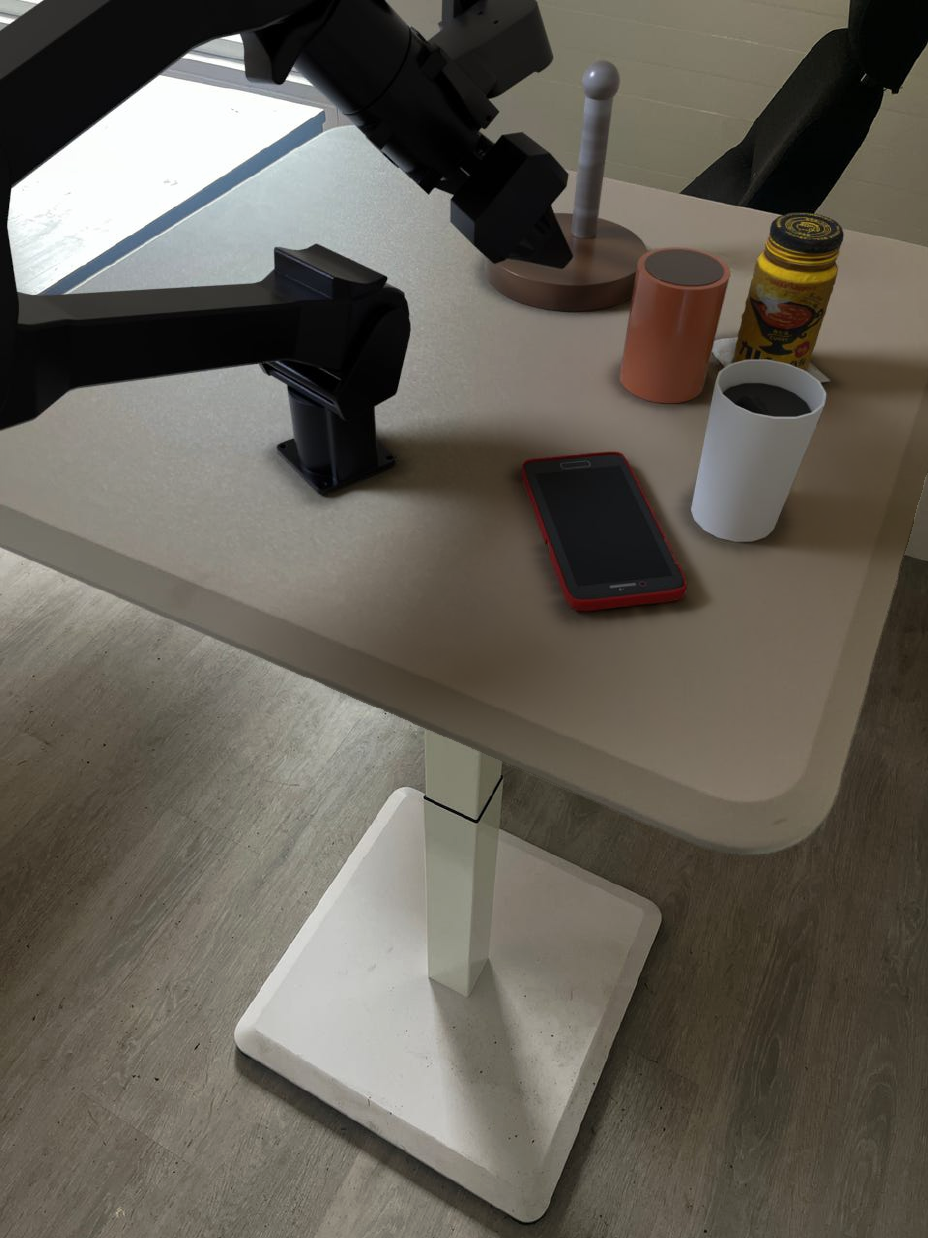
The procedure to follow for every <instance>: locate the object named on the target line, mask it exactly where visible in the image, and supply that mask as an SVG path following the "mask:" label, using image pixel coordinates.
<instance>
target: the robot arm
mask: <svg viewBox="0 0 928 1238" xmlns="http://www.w3.org/2000/svg"><path fill="white" fill-rule="evenodd" d="M544 23H545V22H544V20H543V17H542V12H541V10H540V6H539V2H538V1H537V0H441V20H440V21H439V22H438V23H437V26H438V28H439V31H438V32H437V33H436V34H434V35H433V36H431V37H430V38H429V39H428V40H427V39H426V38H425V36H423V35H422V33H421V32H420V31H418V30H417V28H415V27H413V26H409V25H408V24H407V22H406V21H405V20H404V19H403V18H402V17H401V16H400V14H399V13H398V12H397V11H396V10H395V9H394V8H393V7H392V6H391V4H389V3H388V1H386V0H41V1H40V2H39V3H37V4H36V5H34V6H33V7H31V8H30V9H29V10H27V11H25V12H24V13H23V14H21V15H20V16H19V17H17V18H16V19H14V20H13V21H12V22H10V23H8V24H7V25H6V26H4V27H3V28H2V29H0V432H2V431H5V430H8V429H11V428H14V427H17V426H21V425H24V424H26V423H29V422H32V421H34V420H36V419H37V418H38V417H40V416H41V415H42V414H43V413H44V412H46V411H47V410H48V409H49V408H50V407H51V406H53V405H54V404H55V403H56V402H57V401H58V400H60V399H61V398H63V397H64V396H65V395H66V394H67V393H70V392H72V391H75V390H78V389H79V390H80V389H83V388H84V389H85V388H93V387H99V386H106V385H113V384H121V383H128V382H137V381H143V380H150V379H159V378H164V377H174V376H178V375H179V376H180V375H187V374H195V373H202V372H209V371H216V370H224V369H231V368H239V367H246V366H253V365H254V366H255V365H258V366H259V368H260V369H261V371H262V373H263V374H265V375H266V376H269V377H273V378H274V379H276V380H278V381H280V382H281V383H283V384H284V385H286V389H287V396H288V403H289V411H290V412H289V413H290V418H291V426H292V433H293V438H290V439H288V440H284V441H283V442H280V443H278V444H277V445H276V451H277V454H278V455H279V456H280V457H281V458H282V459H283V460H284V461H285V462H286V463H287V464H288V465H289V466H290V468H292V469H293V470H294V471H295V472H296V473H297V475H299V477H301V479H303V480H304V481H305V482H306V483H307V484H308V485H309V486H310V487H311V489H312V490H314V491H315V492H316V493H317V494H318V495H327V494H329V493H332V492H334V491H336V490H339V489H341V488H344V487H346V486H349V485H351V484H353V483H356V482H358V481H361V480H362V479H365V478H367V477H370V476H372V475H375V474H378V473H380V472H382V471H384V470H387V469H389V468H392V467H394V466H395V465H396V464H397V456H396V455H395V454H394V452H392V451H391V450H390V449H388V447H386V446H385V445H384V444H383V443H382V442H380V440H378V438H377V421H376V406H379V405H381V404H382V403H384V402H387V400H390V399H391V398H393V397H395V396H396V395H397V393H398V390H399V386H400V380H401V377H402V372H403V368H404V364H405V359H406V355H407V351H408V346H409V342H410V337H411V331H412V326H411V319H410V308H409V302H408V300H407V298H406V293H405V292H404V291H403V290H401V289H400V288H398V287H396V286H394V285H392V284H390V283H388V282H387V281H388V279H389V278H388V276H387V275H385V274H383V273H381V272H379V271H377V270H375V269H372V268H370V267H368V266H366V265H364V264H362V263H360V262H358V261H355V260H353V259H351V258H349V257H347V256H345V255H342V254H341V253H338V252H336V251H334V250H332V249H330V248H328V247H326V246H324V245H321V244H319V243H314V244H311V245H310V246H308V247H306V248H302V249H292V248H288V247H282V246H275V247H273V266H274V268H273V269H272V270H271V271H269V273H268V274H267V275H266V276H265V277H263V279H261V280H259V281H256V282H251V283H250V282H249V283H235V284H233V283H232V284H215V285H199V286H198V285H197V286H182V287H164V288H163V287H162V288H147V289H131V290H130V289H129V290H114V291H113V290H112V291H98V292H97V291H96V292H79V293H66V294H65V293H63V294H61V293H60V294H46V295H45V294H44V295H38V294H30V293H26V292H21V291H18V288H17V281H16V276H15V275H16V274H15V268H14V261H13V255H12V248H11V241H10V234H9V228H8V227H9V225H8V222H9V215H10V214H9V213H10V206H11V205H10V203H11V197H12V195H11V194H12V189H13V188H14V187H16V186H17V185H19V184H20V183H21V182H23V180H25V179H26V178H28V177H29V176H31V174H33V173H34V172H36V170H38V169H40V168H41V167H42V166H43V165H44V164H46V163H47V162H48V161H49V160H51V159H52V158H53V157H55V156H56V155H57V154H58V153H60V152H61V151H63V150H64V149H65V148H67V147H68V146H69V145H70V144H72V143H73V142H74V141H76V140H77V139H78V138H80V137H81V136H82V135H83V134H85V133H86V132H87V131H89V130H90V129H91V128H93V127H94V126H95V125H96V124H98V123H99V122H100V121H102V120H103V119H104V118H106V117H107V116H108V115H109V114H111V113H112V112H113V111H116V109H118V108H119V107H120V106H121V105H123V104H124V103H125V102H127V101H128V100H129V99H130V98H132V97H133V96H134V95H136V94H137V93H138V92H140V91H141V90H142V89H143V88H144V87H146V86H147V85H149V84H151V82H152V81H154V80H155V79H156V78H158V77H159V76H161V75H162V74H164V72H166V71H167V70H168V69H170V68H171V67H172V66H173V65H174V64H176V63H178V62H179V61H180V60H181V59H183V58H184V57H185V56H187V55H188V54H189V53H190V52H192V51H193V50H195V49H197V48H199V47H202V46H203V45H205V44H208V43H210V42H212V41H214V40H218V39H223V38H226V37H227V38H228V37H231V36H236V35H239V36H240V39H241V42H242V45H243V64H244V75H245V76H244V77H245V79H246V80H247V81H248V82H249V83H252V84H261V85H271V86H282V85H284V83H285V82H286V81H287V79H288V77H289V75H290V73H291V71H292V70H293V68H294V69H295V71H297V72H298V73H299V74H300V75H301V76H302V77H303V78H304V79H306V81H307V82H309V83H310V84H311V86H313V87H314V88H315V89H316V90H317V91H318V92H319V93H320V94H321V95H323V97H324V98H325V99H327V100H328V101H329V102H330V103H331V104H332V105H333V106H334V107H335V108H336V109H337V110H338V111H340V113H341V114H343V116H344V117H346V119H347V120H349V121H350V122H351V123H352V124H353V125H354V126H355V127H356V128H357V129H358V130H359V131H360V132H361V133H362V134H363V135H364V136H365V139H367V141H369V143H371V145H373V146H374V148H375V149H377V150H378V152H379V153H381V155H383V156H384V157H385V158H386V159H387V160H388V161H389V162H390V163H391V164H392V165H394V166H395V167H396V168H397V169H400V170H401V171H402V172H403V173H404V174H405V175H406V176H407V177H408V178H409V179H411V180H412V181H413V182H414V183H415V184H416V185H417V186H419V188H421V189H422V191H424V192H425V193H426V194H427V195H429V196H430V194H431V193H432V192H433V191H434V189H436V190H439V191H442V192H444V193H447V194H449V195H452V197H451V198H450V200H449V202H450V203H449V204H450V205H449V206H450V209H449V223H450V224H452V225H453V227H455V229H457V230H458V232H460V234H462V235H463V237H465V239H466V240H467V241H468V242H470V244H471V245H473V247H474V248H476V249H477V250H478V251H479V252H480V253H481V254H482V255H483V256H484V257H485V256H486V257H487V258H488V259H489V260H490V261H491V262H492V263H493V264H496V263H499V262H502V261H505V260H506V259H510V260H518V261H523V262H529V263H534V264H539V265H544V266H548V267H553V268H558V269H563V268H565V267H566V266H567V264H568V263H569V262H570V261H571V260H572V258H573V253H572V251H571V249H570V247H569V245H568V243H567V240H566V238H565V236H564V234H563V232H562V230H561V227H560V225H559V223H558V221H557V219H556V216H555V214H554V213H555V211H554V209H553V204H554V202H555V201H556V200H557V199H558V198H559V197H560V195H561V194H562V193H563V192H564V190H566V188H567V186H568V181H569V176H570V174H569V173H568V172H567V170H566V169H565V168H564V166H563V165H561V164H560V163H559V161H558V160H557V159H556V158H555V157H554V156H553V155H552V153H551V152H549V151H548V150H547V149H546V148H544V147H543V146H541V145H540V144H539V143H538V142H537V141H536V140H533V138H531V136H528V135H527V134H526V133H525V132H524V131H521V132H520V131H519V132H513V133H512V132H511V133H505V134H501V135H500V136H499V137H498V139H497V140H496V141H495V142H494V141H492V140H491V139H490V138H489V137H487V136H486V135H485V134H483V133H482V132H481V129H483V130H486V129H488V127H489V126H490V125H491V124H492V122H493V121H494V120H495V118H496V117H497V116H498V115H499V114H500V110H499V109H498V108H497V107H496V106H495V105H494V103H493V102H492V101H491V99H494V98H497V97H499V96H501V95H503V94H504V93H506V92H508V91H509V90H510V89H512V88H513V87H515V86H516V85H518V84H519V83H520V82H522V81H524V80H525V79H527V78H528V77H529V76H531V75H532V74H533V73H538V74H539V73H542V72H543V71H544V70H546V69H547V68H548V67H549V66H550V65H551V64H552V62H553V61H554V53H553V50H552V46H551V43H550V40H549V36H548V34H547V29H546V26H545V24H544Z"/></svg>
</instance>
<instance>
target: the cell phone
mask: <svg viewBox="0 0 928 1238" xmlns="http://www.w3.org/2000/svg"><path fill="white" fill-rule="evenodd" d="M520 475H521V480H522V483H523V485H524V489H525V492H526V495H527V498H528V500H529V502H530V505H531V507H532V510H533V513H534V517H535V519H536V522H537V525H538V528H539V530H540V533H541V536H542V539H543V541H544V544H545V545H546V546H547V547H548V550H549V552H548V555H549V559H550V561H551V564H552V566H553V570H554V572H555V575H556V578H557V580H558V583H559V586H560V589H561V592H562V594H563V597H564V599H565V601H566V603H567V604H568V606H569V607H570V608H571V609H572V610H574V611H577V612H588V611H599V610H608V609H614V608H615V609H616V608H625V607H631V606H632V607H633V606H641V605H650V604H659V603H667V602H673V601H677V600H681V599H682V598H684V597H685V596H686V592H687V589H688V584H687V580H686V576H685V575H684V572H683V570H682V567H681V565H680V563H679V561H678V559H677V557H676V555H675V553H674V551H673V549H672V547H671V545H670V543H669V541H668V539H667V537H666V535H665V533H664V531H663V529H662V527H661V525H660V523H659V521H658V519H657V517H656V515H655V513H654V510H653V509H652V507H651V505H650V502H649V501H648V499H647V496H646V494H645V492H644V490H643V488H642V486H641V484H640V482H639V480H638V478H637V476H636V474H635V472H634V470H633V468H632V466H631V464H630V462H629V461H628V459H627V458H626V455H624V454H623V453H622V452H619V451H599V452H587V453H578V454H577V453H576V454H568V455H567V454H566V455H556V456H545V457H536V458H535V457H534V458H529V459H526V460H524V461H523V462H522V463H521V465H520Z"/></svg>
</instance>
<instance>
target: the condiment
mask: <svg viewBox="0 0 928 1238" xmlns="http://www.w3.org/2000/svg"><path fill="white" fill-rule="evenodd" d="M844 236H845V234H844V230H843V227H842V226H841V225H840V224H839V223H838V222H837V221H836V220H834V218H833V219H832V218H830V217H829V216H824V215H823V214H819V213H818V214H817V213H811V212H807V211H806V212H802V211H800V212H799V211H798V212H789V213H784V214H782V215H779V216H777V217H776V218H775V219H774V220H773V221H772V222H771V224H770V227H769V234H768V237H767V239H766V241H765V244H764V247H765V249H764V250H763V251H761V253H760V254H759V256H758V258H757V260H756V261H755V265H754V270H753V271H754V272H753V274H752V279H751V281H750V285H749V289H748V294H747V296H746V298H745V305H744V306H745V307H744V310H743V312H742V314H741V322H740V326H739V329H738V333H737V336H735V337H733V338H732V337H727V338H721V339H715V341H714V345H713V349H712V354H713V356H714V357H715V358H716V359H717V360H719V361H718V362H720V363H721V365H722V366H723V368H725V367H726V366H728V365H729V364H732V363H736V362H739V361H743V360H764V359H767V360H772V361H777V362H782V363H787V364H790V365H792V366H795V367H797V368H799V369H802V370H804V371H806V372H808V373H809V374H810V375H812V376H813V377H814V378H816V379H817V380H818V381H820V383H821V384H822V383H826V382H831V380H830V379H829V378H828V377H827V375H825V374H824V373H822V372H821V371H820V370H819V369H818V368H817V367H816V366H815V365H814V364H813V363H811V360H812V356H813V353H814V350H815V347H816V344H817V341H818V337H819V334H820V331H821V328H822V325H823V321H824V318H825V315H826V313H827V309H828V305H829V302H830V299H831V296H832V294H833V292H834V286H835V284H836V280H837V277H838V271H839V270H838V269H839V267H838V264H837V262H836V261H837V260H838V257H839V256H840V252H841V251H840V249H841V247H842V243H843V241H844Z"/></svg>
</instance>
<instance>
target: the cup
mask: <svg viewBox="0 0 928 1238" xmlns="http://www.w3.org/2000/svg"><path fill="white" fill-rule="evenodd" d="M730 277H731V270H730V267H729V265H728V264H727V263H726V261H724V260H722V259H721V258H719V257H718V256H716V255H714V254H712V253H710V252H707V251H703V250H700V249H695V248H689V247H682V246H681V247H680V246H679V247H677V246H674V247H673V246H670V247H660V248H656V249H652V250H650V251H647V253H645V254H644V255H643V256H641V257H640V259H639V260H638V264H637V270H636V276H635V283H634V289H633V295H632V297H631V301H630V308H629V313H628V314H629V315H628V320H627V326H626V333H625V339H624V345H623V351H622V358H621V363H620V371H619V381H620V383H621V385H622V386H623V388H624V389H625V390H626V391H628V392H629V393H630V394H632V395H634V396H635V397H637V398H640V399H642V400H644V401H645V400H646V401H648V402H653V403H657V404H679V403H680V404H681V403H685V402H688V401H691V400H693V399H695V398H697V397H698V396H699V395H700V394H701V393H702V392H703V390H704V388H705V382H706V378H707V374H708V370H709V366H710V363H711V358H712V354H713V353H712V349H713V345H714V341H715V340H716V336H717V332H718V328H719V324H720V319H721V315H722V311H723V306H724V302H725V298H726V294H727V290H728V286H729V283H730V282H729V281H730Z"/></svg>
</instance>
